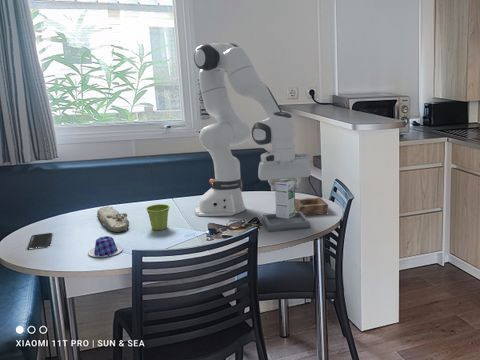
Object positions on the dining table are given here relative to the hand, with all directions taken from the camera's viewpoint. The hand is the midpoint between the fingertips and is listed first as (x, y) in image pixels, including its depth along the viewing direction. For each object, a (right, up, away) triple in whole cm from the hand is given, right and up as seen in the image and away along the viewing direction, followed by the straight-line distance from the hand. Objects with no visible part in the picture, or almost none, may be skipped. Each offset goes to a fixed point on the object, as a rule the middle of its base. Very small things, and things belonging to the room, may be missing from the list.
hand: (284, 189), depth 190 cm
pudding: (-65, -22, -17) cm, 71 cm away
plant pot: (-50, -16, +6) cm, 53 cm away
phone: (-94, -21, -3) cm, 96 cm away
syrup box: (0, -11, +2) cm, 11 cm away
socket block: (+13, -10, +19) cm, 25 cm away
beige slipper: (-72, -15, +18) cm, 76 cm away
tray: (+1, -14, +3) cm, 14 cm away
